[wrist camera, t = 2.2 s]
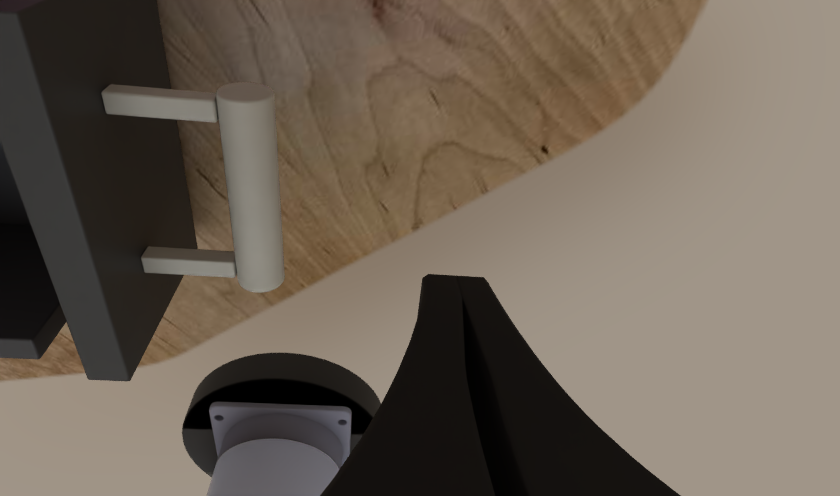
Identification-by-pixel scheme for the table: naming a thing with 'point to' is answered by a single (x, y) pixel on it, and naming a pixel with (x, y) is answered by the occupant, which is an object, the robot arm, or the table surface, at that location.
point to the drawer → (115, 181)
